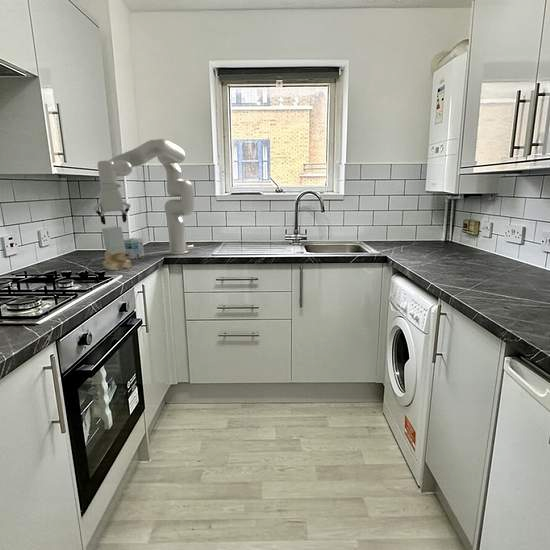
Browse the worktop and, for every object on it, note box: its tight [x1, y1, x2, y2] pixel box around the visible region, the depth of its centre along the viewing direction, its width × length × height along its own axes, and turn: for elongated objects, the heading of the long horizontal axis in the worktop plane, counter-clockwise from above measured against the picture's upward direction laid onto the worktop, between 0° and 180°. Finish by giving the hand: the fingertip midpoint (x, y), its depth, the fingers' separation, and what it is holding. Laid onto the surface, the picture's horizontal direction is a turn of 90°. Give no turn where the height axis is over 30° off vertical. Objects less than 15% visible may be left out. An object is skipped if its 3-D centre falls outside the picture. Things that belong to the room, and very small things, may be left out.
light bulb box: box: [124, 237, 145, 260], centre depth 220 cm, size 11×7×11 cm, turn 168°
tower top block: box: [104, 252, 126, 264], centre depth 192 cm, size 9×9×4 cm
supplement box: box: [101, 225, 126, 255], centre depth 190 cm, size 7×7×13 cm
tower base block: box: [102, 259, 133, 271], centre depth 194 cm, size 10×10×4 cm
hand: (114, 223), depth 190 cm, fingers open, 9 cm apart
